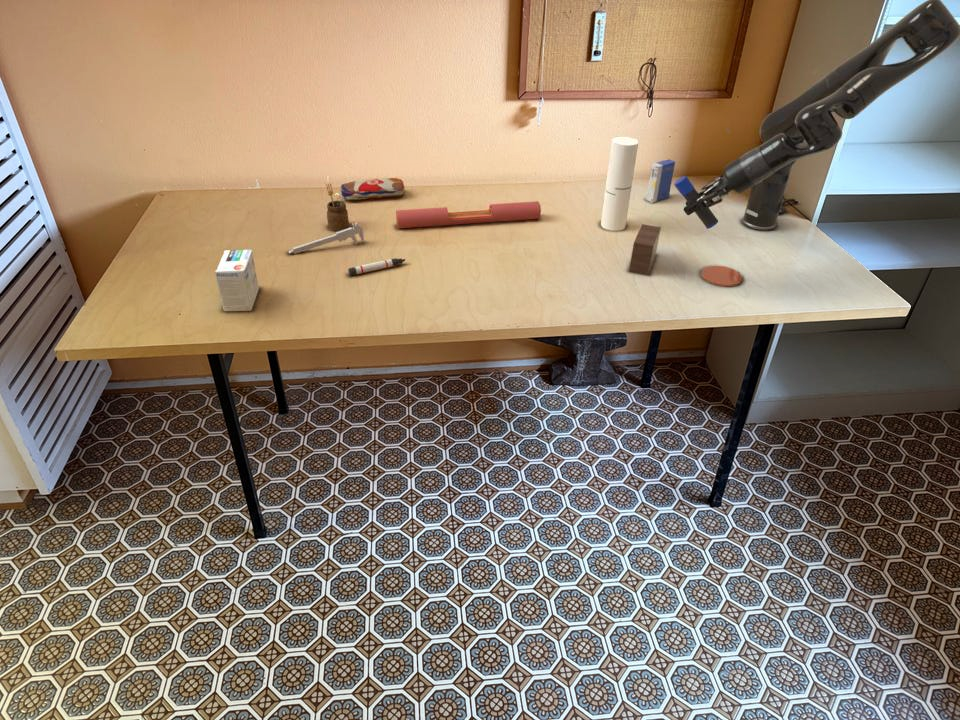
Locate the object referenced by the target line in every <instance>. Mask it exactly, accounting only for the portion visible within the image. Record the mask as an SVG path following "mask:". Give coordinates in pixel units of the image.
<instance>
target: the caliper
mask: <svg viewBox="0 0 960 720" xmlns="http://www.w3.org/2000/svg"><path fill="white" fill-rule="evenodd" d="M351 225H352V227H351V226H350V227H348V228H347V229H344V230H341V231H335V233H334V234H331V235H328V236H325V237H321V238H318V239H315V240H313V241H309V242H306V243H303V244H300V245H296V246H294V247H292V249H291V250H288V255H291V254H294V255H296V254H299V253H302V252H306V251H308V250H312V249H315V248H318V247H320V246H323V245H327V244H330V243H333V242H336V241H338V242H339V243H340V242H341V243H342V242H343V241H344V242H345V241H347V240H348V239H349V238H351V240H352V241H353V242H354V243H355V244H356V245H359V244H358V240H357V237H356V235H357V234H358V236H359V238H360V241H361V243H363V244H364V242H365V236H364V231H363V229H362V226H361V224H358V222H357V221H355V224H354V223H352V222H351Z"/></svg>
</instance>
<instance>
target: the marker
mask: <svg viewBox="0 0 960 720" xmlns="http://www.w3.org/2000/svg"><path fill="white" fill-rule="evenodd" d="M405 261H406V258H397V257H395V258H390V259H384V260H381V261H376V262H371V263H366V264H362V265H357V266H353V267H348V269H347V271H348V274H349V276H355V275H360V274H366V273H370V272H375V271H378V270H384V269H388V268H393V267H396V266H399V265H400V264H403V263H404V262H405Z"/></svg>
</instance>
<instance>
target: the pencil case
mask: <svg viewBox="0 0 960 720" xmlns="http://www.w3.org/2000/svg"><path fill="white" fill-rule="evenodd" d="M405 189H406V188H405V183H404V181H403V180H402V179H401V178H398V177H383V178H382V177H381V178H367V179H360V180H355V181H350V182H347V183H342V184H341V185H340V189H339V192H340V194H341V197H343V199H345V200H348V201H355V200H356V201H357V200H359V201H360V200H367V199H378V198H389V197H400V196H403V195H404V194H405Z"/></svg>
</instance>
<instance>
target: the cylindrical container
mask: <svg viewBox="0 0 960 720" xmlns="http://www.w3.org/2000/svg"><path fill="white" fill-rule="evenodd" d="M638 148H639V140H638V139H636V138H634V137H631V136H615V137H613V138H612V139H611V144H610V151H609V152H610V153H609V158H608V159H609V160H608V167H607V175H606V182H605V183H606V184H605V190H604V197H603V205H602V212H601V220H600V226H601V227H602V228H603V229H605V230H607V231H612V232H613V231H614V232H618V231H619V232H620V231H622V230H625V228H626V225H627V219H628V212H629V206H630V199H631V193H632V186H633V181H634V174H635V166H636V163H637V161H636V160H637V154H638Z"/></svg>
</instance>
